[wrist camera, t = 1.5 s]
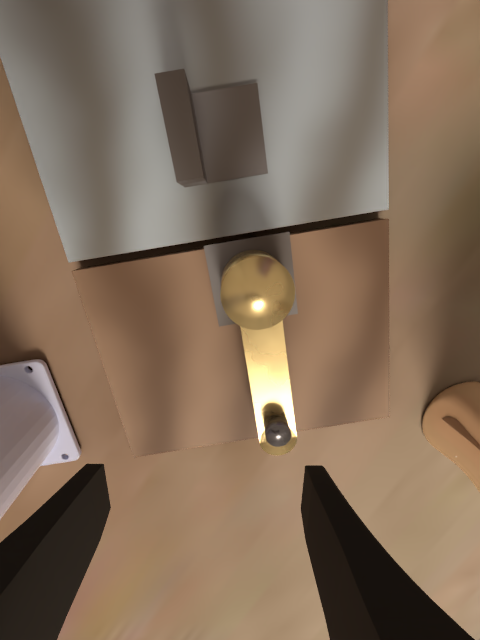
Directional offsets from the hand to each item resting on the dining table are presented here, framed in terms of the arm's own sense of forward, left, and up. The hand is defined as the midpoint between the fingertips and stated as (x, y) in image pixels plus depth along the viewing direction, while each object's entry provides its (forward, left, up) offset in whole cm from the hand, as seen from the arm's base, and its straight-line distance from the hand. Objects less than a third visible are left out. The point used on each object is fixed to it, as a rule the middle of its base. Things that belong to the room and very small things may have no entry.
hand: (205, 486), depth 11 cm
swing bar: (+3, +1, -9) cm, 9 cm away
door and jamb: (+2, +7, -10) cm, 13 cm away
